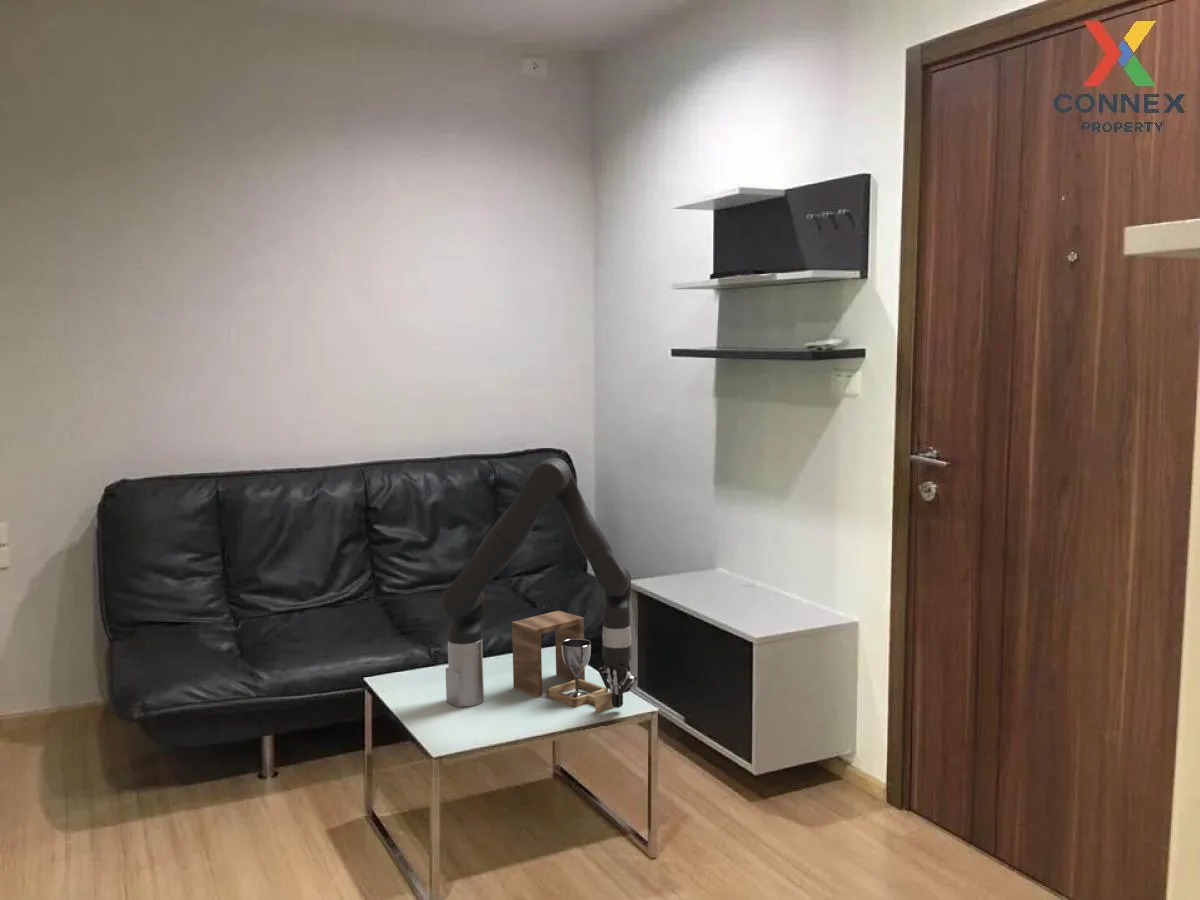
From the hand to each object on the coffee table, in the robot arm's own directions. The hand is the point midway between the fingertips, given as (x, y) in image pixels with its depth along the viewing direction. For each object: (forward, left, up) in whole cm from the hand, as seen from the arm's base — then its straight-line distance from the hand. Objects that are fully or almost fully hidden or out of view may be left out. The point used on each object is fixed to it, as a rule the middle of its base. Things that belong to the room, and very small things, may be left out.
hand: (617, 706), depth 268 cm
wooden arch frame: (0, +28, -1) cm, 28 cm away
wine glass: (0, +16, -2) cm, 16 cm away
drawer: (0, +13, -1) cm, 13 cm away
